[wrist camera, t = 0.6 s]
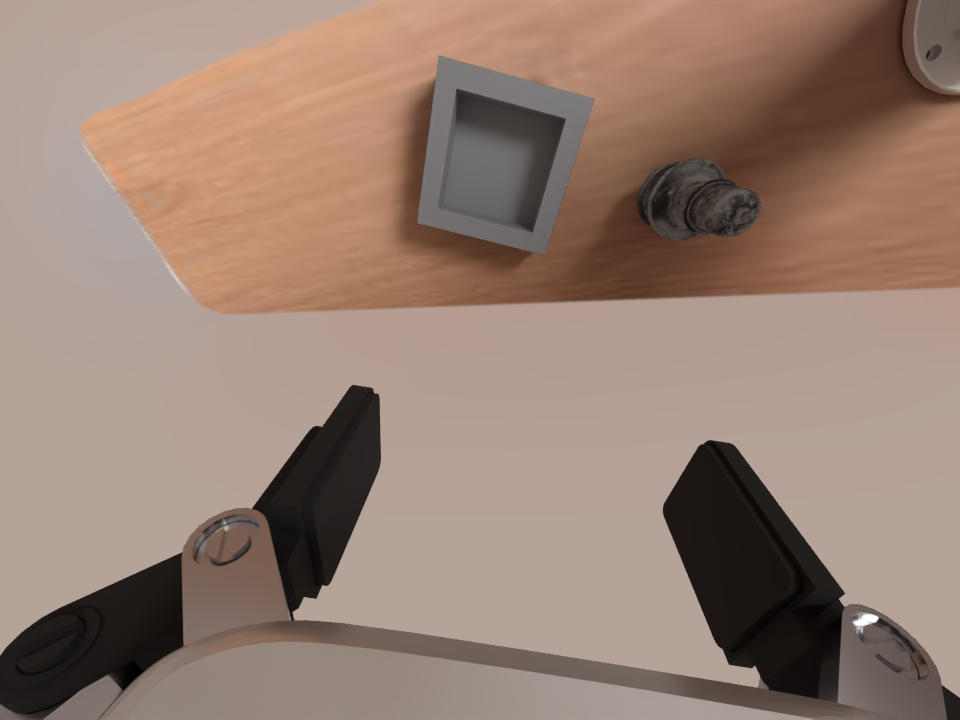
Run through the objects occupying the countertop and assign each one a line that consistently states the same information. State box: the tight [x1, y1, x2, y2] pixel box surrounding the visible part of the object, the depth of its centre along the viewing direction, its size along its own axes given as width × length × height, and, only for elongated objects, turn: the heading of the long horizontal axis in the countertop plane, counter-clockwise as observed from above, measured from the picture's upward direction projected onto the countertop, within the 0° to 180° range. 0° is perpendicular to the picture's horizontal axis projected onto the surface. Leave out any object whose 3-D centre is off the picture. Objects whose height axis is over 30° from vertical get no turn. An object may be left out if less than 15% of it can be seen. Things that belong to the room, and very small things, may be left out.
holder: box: [417, 56, 594, 255], centre depth 29 cm, size 11×11×4 cm
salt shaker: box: [638, 158, 761, 240], centre depth 26 cm, size 6×6×12 cm
